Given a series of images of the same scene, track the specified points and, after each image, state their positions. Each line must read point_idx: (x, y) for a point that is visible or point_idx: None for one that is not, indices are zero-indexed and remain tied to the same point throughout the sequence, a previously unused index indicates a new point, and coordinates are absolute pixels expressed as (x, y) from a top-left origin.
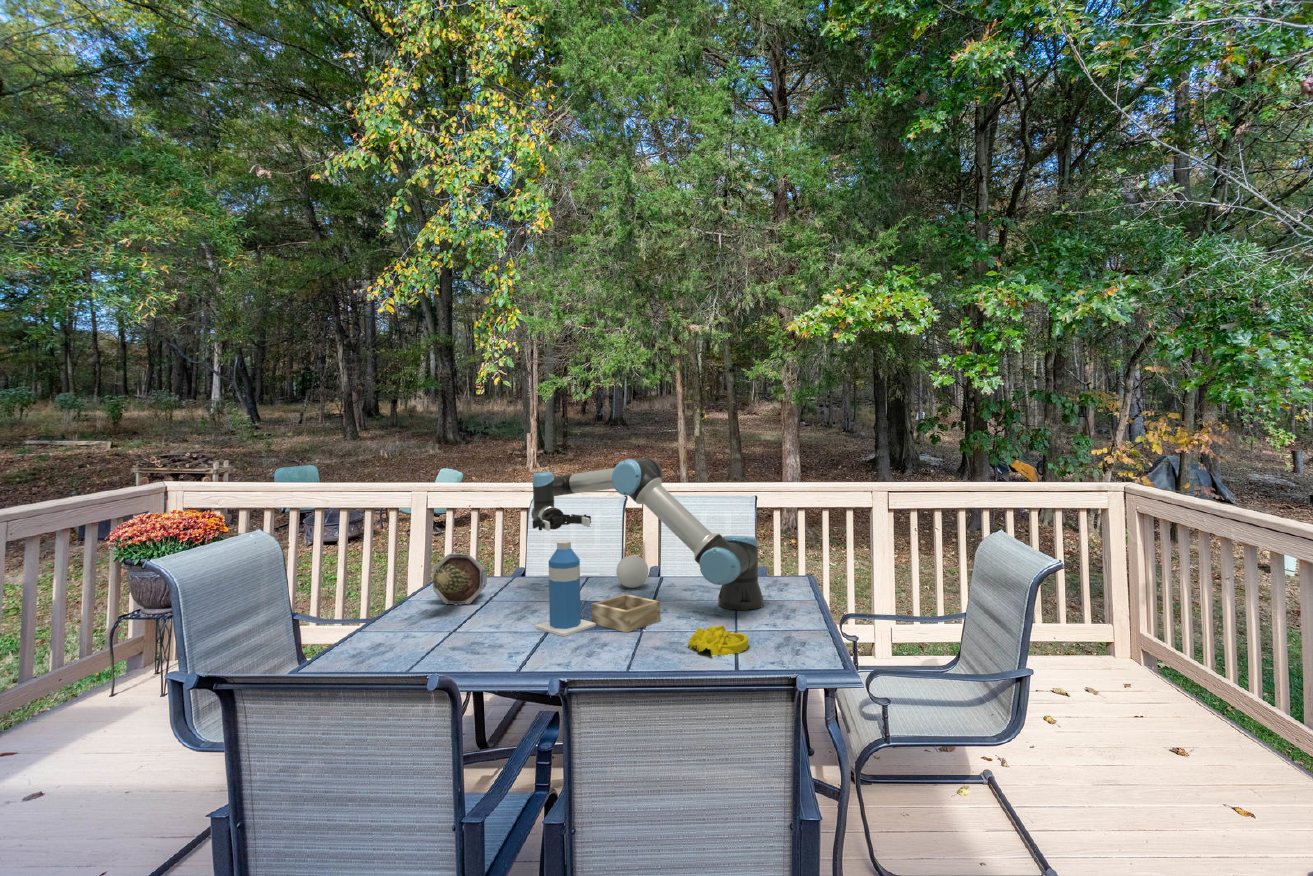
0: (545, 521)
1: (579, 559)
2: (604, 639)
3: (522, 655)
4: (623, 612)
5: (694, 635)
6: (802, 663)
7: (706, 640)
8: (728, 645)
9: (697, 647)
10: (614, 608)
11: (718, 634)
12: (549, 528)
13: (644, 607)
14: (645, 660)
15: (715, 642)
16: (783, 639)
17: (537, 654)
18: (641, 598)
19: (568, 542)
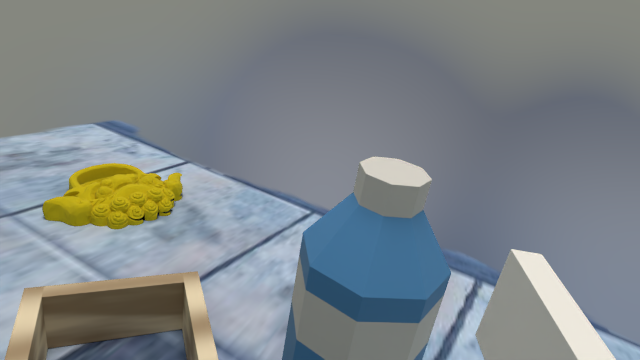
0: (601, 345)
1: (304, 231)
2: (271, 312)
3: (474, 331)
4: (199, 281)
5: (160, 190)
6: (107, 140)
7: (154, 184)
8: (141, 171)
9: (180, 188)
10: (198, 309)
11: (128, 175)
12: (491, 314)
13: (113, 281)
14: (267, 219)
15: (152, 176)
16: (12, 169)
17: (441, 320)
18: (23, 342)
19: (376, 157)
